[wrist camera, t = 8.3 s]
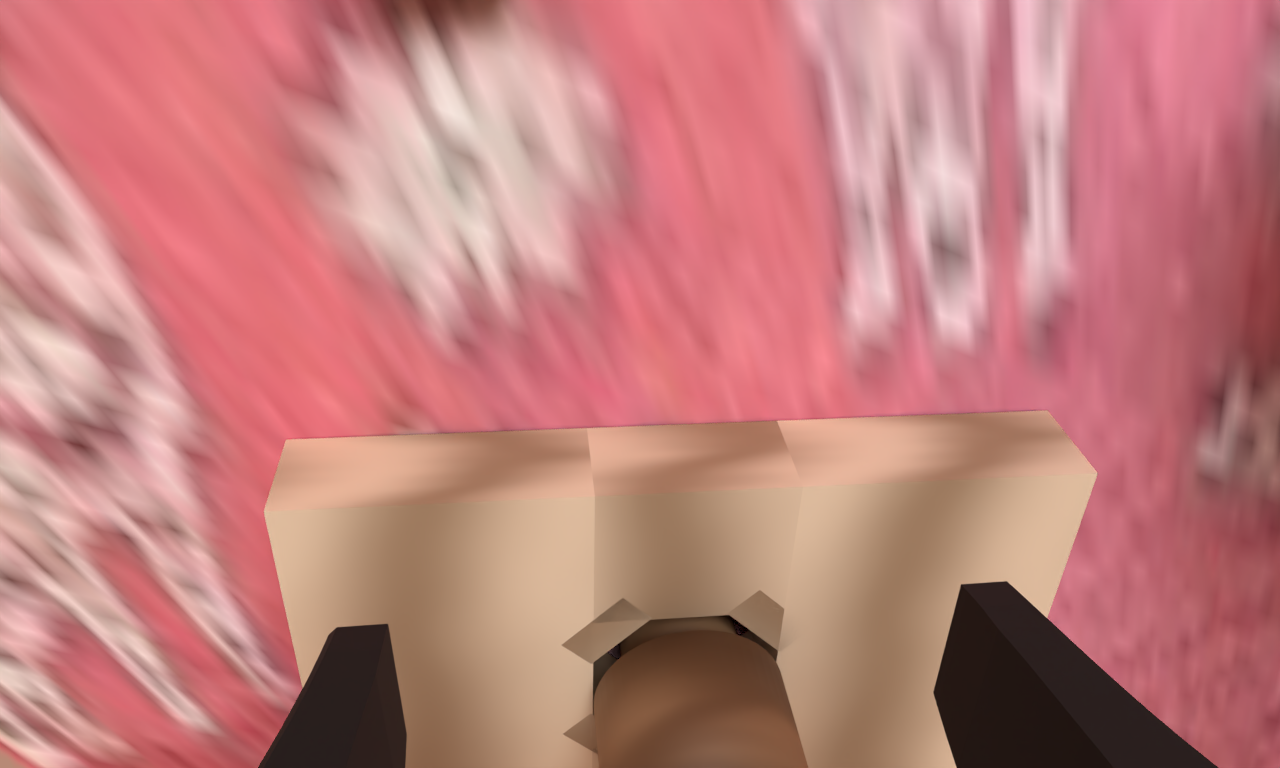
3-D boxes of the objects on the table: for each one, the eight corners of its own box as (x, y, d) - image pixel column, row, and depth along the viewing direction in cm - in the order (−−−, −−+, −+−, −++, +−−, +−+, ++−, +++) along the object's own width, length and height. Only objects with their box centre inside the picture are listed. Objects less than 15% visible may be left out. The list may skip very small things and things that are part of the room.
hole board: (1047, 410, 25) (1097, 473, 22) (950, 732, 31) (982, 804, 29) (285, 439, 23) (263, 511, 20) (351, 777, 29) (339, 857, 27)
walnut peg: (734, 521, 25) (803, 756, 20) (773, 639, 28) (842, 879, 22) (561, 573, 26) (578, 819, 20) (615, 685, 28) (643, 934, 22)
